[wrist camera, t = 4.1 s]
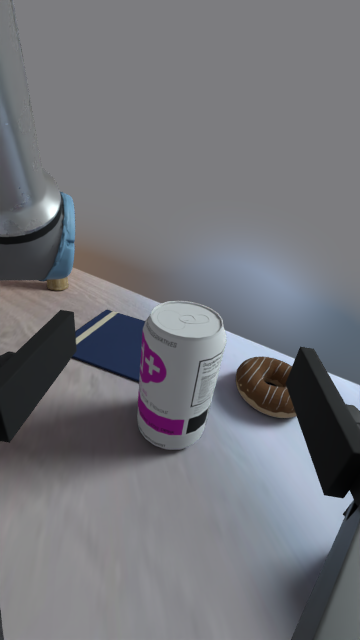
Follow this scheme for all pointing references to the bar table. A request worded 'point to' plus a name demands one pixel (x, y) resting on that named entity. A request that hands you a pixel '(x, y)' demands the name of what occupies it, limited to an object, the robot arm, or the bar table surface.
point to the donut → (266, 386)
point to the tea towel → (112, 343)
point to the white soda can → (178, 372)
